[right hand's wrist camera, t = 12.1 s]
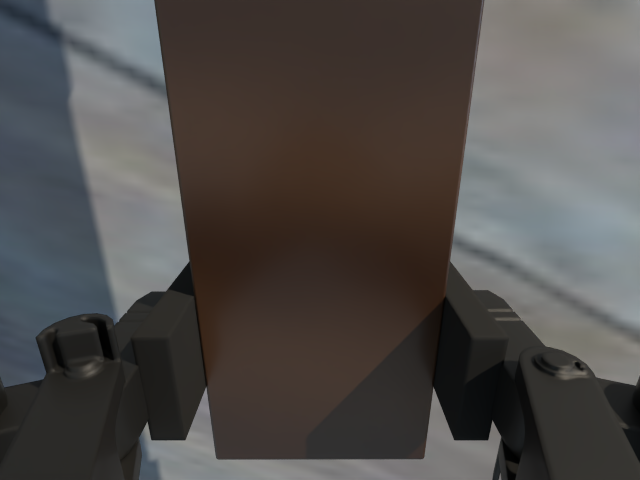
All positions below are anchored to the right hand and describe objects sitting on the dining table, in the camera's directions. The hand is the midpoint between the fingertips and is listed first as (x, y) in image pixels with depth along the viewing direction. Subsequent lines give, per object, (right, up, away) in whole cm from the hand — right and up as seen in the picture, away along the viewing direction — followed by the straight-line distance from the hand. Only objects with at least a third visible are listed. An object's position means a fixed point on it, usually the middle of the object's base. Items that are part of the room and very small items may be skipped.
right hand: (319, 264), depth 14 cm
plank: (0, +13, -5) cm, 14 cm away
